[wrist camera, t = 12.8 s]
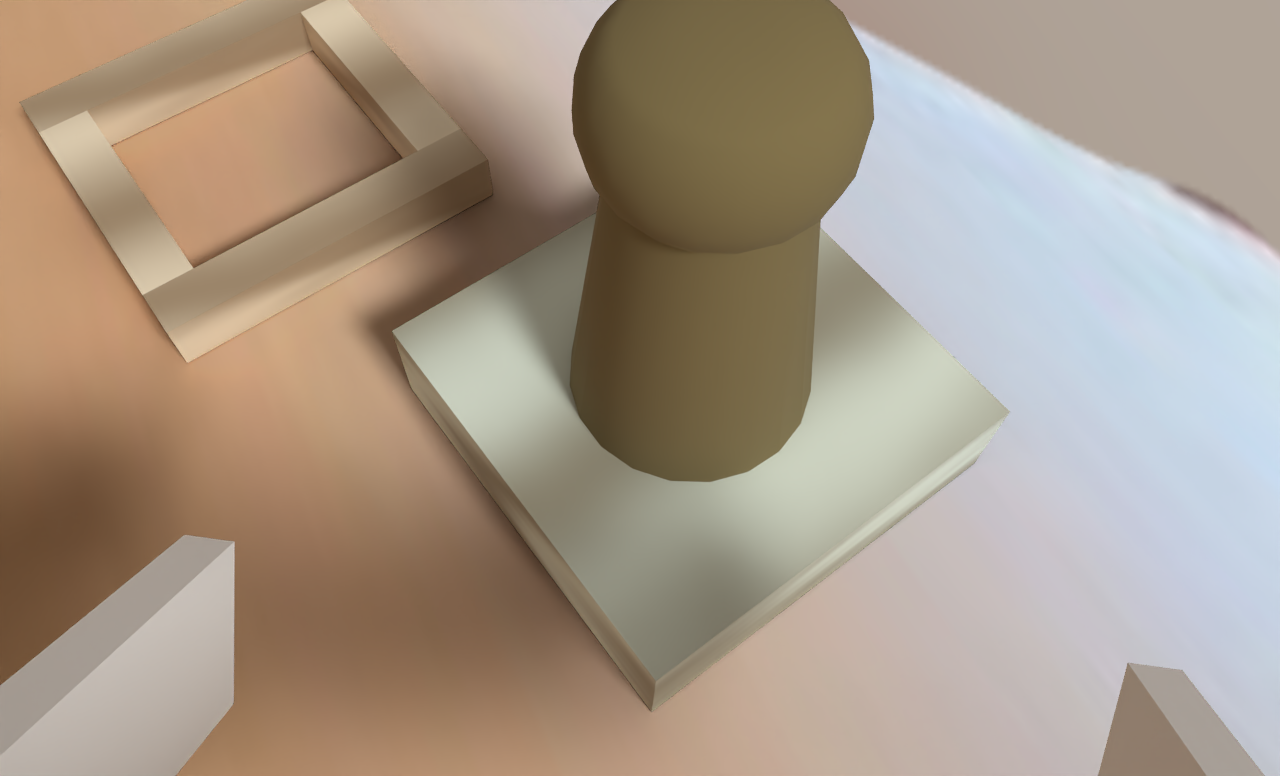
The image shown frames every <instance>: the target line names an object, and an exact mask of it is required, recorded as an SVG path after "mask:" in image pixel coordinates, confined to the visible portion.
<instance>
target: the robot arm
mask: <svg viewBox="0 0 1280 776" xmlns="http://www.w3.org/2000/svg"><path fill="white" fill-rule="evenodd" d="M233 704H234V541H227V540H219V539H212V538H205V537H197V536H190V535H184V536H182V537H181V538H180V539H179V540H177V541H176V542H175V543H174V544H173V545H171V546H170V547H169V548H168V549H166V550H165V551H164V552H163V553H162V554H160V555H159V556H158V557H157V558H155V559H154V560H153V561H152V562H151V563H149V564H148V565H147V566H146V567H144V568H143V569H142V570H141V571H140V572H138V573H137V574H136V575H135V576H133V577H132V578H131V579H130V580H129V581H127V582H126V583H125V584H124V585H122V586H121V587H120V588H119V589H118V590H116V591H115V592H114V593H113V594H111V595H110V596H109V597H108V598H107V599H105V600H104V601H103V602H102V603H100V604H99V605H98V606H97V607H96V608H94V609H93V610H92V611H91V612H89V613H88V614H87V615H86V616H85V617H83V618H82V619H81V620H80V621H78V622H77V623H76V624H75V625H74V626H72V627H71V628H70V629H69V630H67V631H66V632H65V633H64V634H63V635H61V636H60V637H59V638H58V639H56V640H55V641H54V642H53V643H51V644H50V645H49V646H48V647H47V648H45V649H44V650H43V651H42V652H40V653H39V654H38V655H37V656H36V657H34V658H33V659H32V660H31V661H29V662H28V663H27V664H26V665H25V666H23V667H22V668H21V669H20V670H18V671H17V672H16V673H15V674H14V675H12V676H11V677H10V678H9V679H7V680H6V681H5V682H4V683H3V684H1V685H0V776H176V775H177V774H178V772H179V771H180V770H181V769H182V767H183V766H184V765H185V764H186V762H187V761H188V760H189V759H190V757H191V756H192V755H193V754H194V752H195V751H196V750H197V749H198V747H199V746H200V745H201V744H202V742H203V741H204V740H205V739H206V738H207V736H208V735H209V734H210V733H211V731H212V730H213V729H214V728H215V726H216V725H217V724H218V723H219V721H220V720H221V719H222V718H223V716H224V715H225V714H226V713H227V711H228V710H229V709H230V708H231V707H232V705H233ZM1098 776H1265V775H1264V774H1263V773H1262V772H1261V770H1260V769H1259V768H1258V766H1257V765H1256V764H1255V763H1254V761H1253V760H1252V759H1251V758H1250V756H1249V755H1248V754H1247V752H1246V751H1245V750H1244V749H1243V747H1242V746H1241V745H1240V743H1239V742H1238V741H1237V740H1236V738H1235V737H1234V736H1233V734H1232V733H1231V732H1230V731H1229V729H1228V728H1227V727H1226V726H1225V724H1224V723H1223V722H1222V720H1221V719H1220V718H1219V717H1218V715H1217V714H1216V713H1215V711H1214V710H1213V709H1212V708H1211V706H1210V705H1209V704H1208V703H1207V701H1206V700H1205V699H1204V697H1203V696H1202V695H1201V694H1200V692H1199V691H1198V690H1197V688H1196V687H1195V686H1194V685H1193V683H1192V682H1191V681H1190V680H1189V678H1188V677H1187V676H1186V674H1185V673H1184V672H1183V671H1182V670H1177V669H1169V668H1162V667H1155V666H1147V665H1140V664H1133V663H1128V664H1127V668H1126V672H1125V676H1124V680H1123V683H1122V687H1121V691H1120V695H1119V699H1118V702H1117V706H1116V710H1115V714H1114V718H1113V721H1112V725H1111V729H1110V733H1109V737H1108V740H1107V744H1106V748H1105V752H1104V756H1103V759H1102V763H1101V767H1100V771H1099V774H1098Z"/></svg>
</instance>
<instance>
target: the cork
mask: <svg viewBox="0 0 1280 776" xmlns="http://www.w3.org/2000/svg"><path fill="white" fill-rule="evenodd" d="M873 120H874V109H873V91H872V82H871V74H870V65H869V60H868V58H867V56H866V54H865V52H864V50H863V48H862V47H861V45H860V43H859V41H858V39H857V37H856V35H855V34H854V32H853V30H852V28H851V26H850V25H849V23H848V21H847V19H846V17H845V16H844V14H843V12H842V11H840V9H838V8H837V7H836V6H835V5H834V4H833V3H832V2H831V1H830V0H616V1H615V2H614V3H613V4H612V5H611V6H610V7H609V8H608V9H607V10H606V12H605V13H604V14H603V15H602V16H601V17H600V18H599V20H598V21H597V22H596V24H595V26H594V28H593V30H592V32H591V33H590V35H589V37H588V39H587V41H586V43H585V45H584V47H583V49H582V51H581V53H580V56H579V60H578V63H577V67H576V70H575V74H574V84H573V98H572V122H573V134H574V137H575V140H576V143H577V146H578V148H579V151H580V154H581V157H582V160H583V163H584V165H585V168H586V171H587V173H588V175H589V177H590V180H591V182H592V184H593V187H594V189H595V190H596V191H597V192H598V194H599V195H600V196H599V201H598V207H597V212H596V218H595V224H594V229H593V235H592V241H591V246H590V252H589V257H588V263H587V269H586V274H585V280H584V285H583V291H582V297H581V302H580V308H579V313H578V319H577V325H576V330H575V336H574V341H573V347H572V353H571V370H570V388H571V391H572V395H573V398H574V401H575V404H576V408H577V411H578V414H579V417H580V419H581V420H582V422H583V423H584V424H585V426H586V427H587V428H588V430H589V431H590V432H591V434H592V435H593V436H594V438H595V439H596V440H597V442H598V443H599V444H600V446H601V447H602V448H604V449H605V450H607V451H608V452H609V453H611V454H612V455H614V456H615V457H617V458H618V459H619V460H621V461H622V462H624V463H625V464H627V465H628V466H629V467H631V468H632V469H635V470H638V471H641V472H644V473H647V474H650V475H653V476H657V477H660V478H663V479H666V480H669V481H689V482H712V481H716V480H720V479H723V478H727V477H731V476H734V475H738V474H742V473H745V472H749V471H750V470H752V469H753V468H755V467H756V466H758V465H759V464H761V463H762V462H764V461H765V460H767V459H769V458H770V457H772V456H773V455H775V454H776V453H778V452H779V451H780V450H781V449H782V447H783V446H784V445H785V444H786V442H787V441H788V440H789V438H790V437H791V436H792V434H793V433H794V432H795V431H796V429H797V428H798V427H799V425H800V424H801V422H802V418H803V415H804V412H805V409H806V405H807V402H808V399H809V396H810V392H811V379H812V361H813V344H814V326H815V308H816V291H817V273H818V256H819V238H820V220H821V219H822V217H823V216H824V215H825V214H826V213H827V211H828V210H829V209H830V208H831V207H832V206H833V204H834V203H835V202H836V201H837V200H838V199H839V197H840V196H841V195H842V194H843V192H844V191H845V190H846V188H847V187H848V186H849V184H850V183H851V182H852V180H853V179H854V178H855V176H856V173H857V170H858V167H859V164H860V161H861V158H862V155H863V152H864V148H865V145H866V142H867V139H868V136H869V133H870V130H871V127H872V124H873Z"/></svg>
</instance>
